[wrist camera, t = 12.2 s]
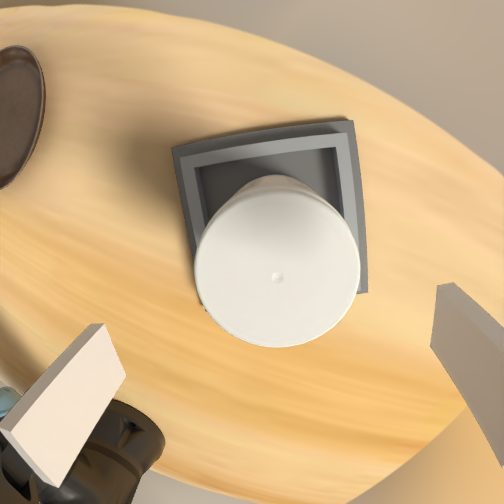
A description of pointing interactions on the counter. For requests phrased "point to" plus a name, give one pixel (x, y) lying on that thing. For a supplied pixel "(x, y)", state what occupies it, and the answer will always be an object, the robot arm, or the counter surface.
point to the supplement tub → (276, 264)
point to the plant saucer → (19, 110)
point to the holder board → (274, 173)
